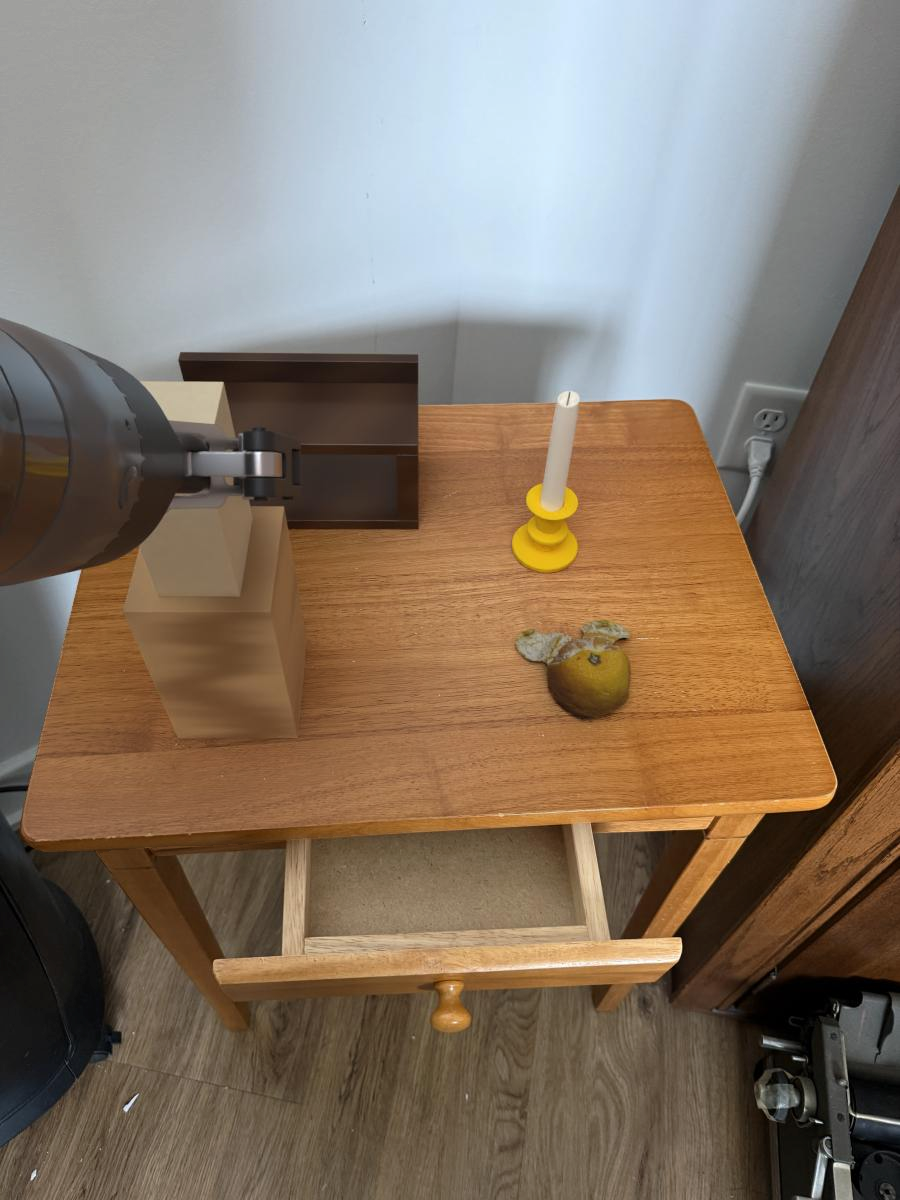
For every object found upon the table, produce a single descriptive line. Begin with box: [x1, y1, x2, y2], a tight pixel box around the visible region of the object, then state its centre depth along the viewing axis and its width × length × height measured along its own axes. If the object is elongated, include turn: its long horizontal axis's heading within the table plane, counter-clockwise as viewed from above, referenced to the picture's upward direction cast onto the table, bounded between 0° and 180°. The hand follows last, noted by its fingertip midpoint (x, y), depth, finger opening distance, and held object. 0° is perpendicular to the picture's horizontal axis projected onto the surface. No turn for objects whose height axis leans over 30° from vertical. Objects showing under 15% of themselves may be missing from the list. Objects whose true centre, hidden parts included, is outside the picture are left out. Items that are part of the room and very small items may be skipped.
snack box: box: [138, 380, 253, 597], centre depth 47 cm, size 4×6×10 cm
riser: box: [122, 506, 308, 740], centre depth 56 cm, size 8×8×14 cm
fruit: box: [514, 619, 632, 720], centre depth 62 cm, size 8×8×4 cm
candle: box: [511, 390, 581, 574], centre depth 64 cm, size 5×5×16 cm
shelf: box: [177, 351, 420, 530], centre depth 69 cm, size 18×8×11 cm, turn 91°
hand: (166, 469), depth 43 cm, fingers open, 8 cm apart
